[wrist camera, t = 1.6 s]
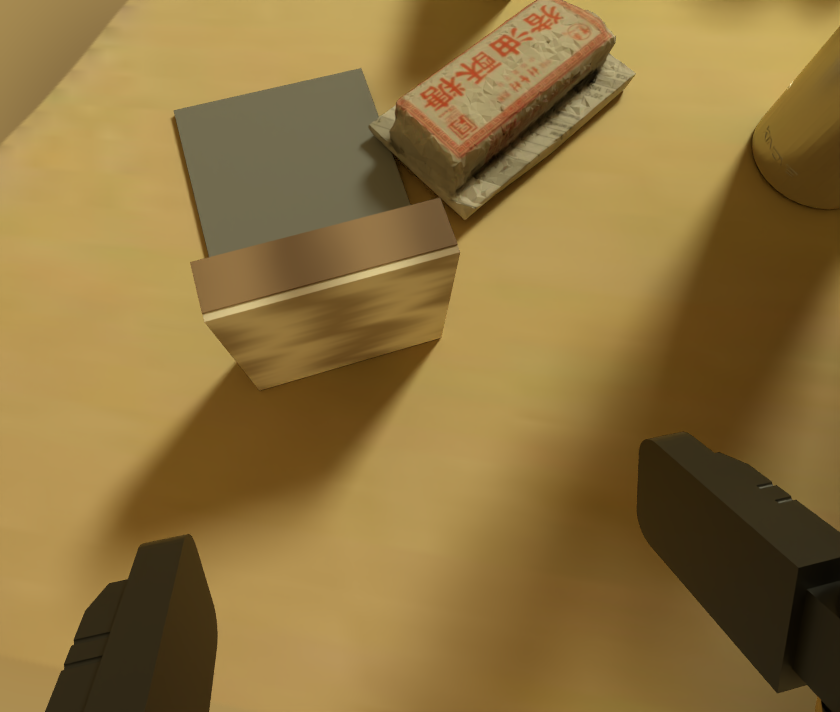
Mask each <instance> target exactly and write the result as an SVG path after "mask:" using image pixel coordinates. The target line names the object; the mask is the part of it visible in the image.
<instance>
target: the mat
mask: <svg viewBox="0 0 840 712" xmlns="http://www.w3.org/2000/svg"><path fill="white" fill-rule="evenodd" d="M174 114H175V118H176V122H177V126H178V131H179V135H180V139H181V143H182V147H183V151H184V155H185V159H186V164H187V168H188V172H189V176H190V180H191V184H192V188H193V192H194V197H195V201H196V205H197V209H198V213H199V217H200V221H201V225H202V230H203V234H204V238H205V242H206V246H207V250H208V254H209V257H212V256H216V255H220V254H224V253H227V252H231V251H235V250H239V249H243V248H247V247H251V246H254V245H258V244H262V243H266V242H270V241H274V240H278V239H282V238H285V237H289V236H293V235H297V234H301V233H305V232H309V231H312V230H316V229H320V228H324V227H328V226H332V225H336V224H339V223H343V222H347V221H351V220H355V219H359V218H363V217H366V216H370V215H374V214H378V213H382V212H386V211H390V210H394V209H397V208H401V207H405V206H409V205H410V202H409V199H408V196H407V194H406V191H405V188H404V185H403V182H402V180H401V177H400V174H399V171H398V169H397V166H396V163H395V160H394V158H393V155H392V152H391V151H390V150H389V149H388V148H387V147H386V146H385V145H384V144H383V143H382V142H380V141H379V140H378V139H377V138H376V137H375V136H374V135H373V134H372V133H371V131H370V129H369V128H368V126H369V125H370V124H371V123H372V122H373V121H375V120H376V119H377V118H379V116H378V113H377V110H376V108H375V105H374V102H373V99H372V97H371V94H370V91H369V88H368V86H367V83H366V80H365V77H364V74H363V72H362V69H361V68H360V69H356V70H351V71H347V72H342V73H338V74H334V75H329V76H325V77H320V78H316V79H311V80H307V81H302V82H298V83H293V84H289V85H285V86H280V87H276V88H271V89H267V90H262V91H258V92H253V93H249V94H245V95H240V96H236V97H231V98H227V99H222V100H218V101H213V102H209V103H205V104H200V105H196V106H191V107H187V108H182V109H178V110H174Z"/></svg>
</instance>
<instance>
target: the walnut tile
mask: <svg viewBox="0 0 840 712" xmlns="http://www.w3.org/2000/svg"><path fill="white" fill-rule="evenodd" d="M459 255H460V250H459V248H458V245H457V241H456V238H455V236H454V233H453V230H452V228H451V225H450V222H449V220H448V217H447V215H446V212H445V209H444V207H443V204H442V201H441V199H440V198H436V199H432V200H428V201H424V202H421V203H417V204H413V205H409V206H405V207H401V208H397V209H394V210H390V211H386V212H382V213H378V214H374V215H370V216H366V217H363V218H359V219H355V220H351V221H347V222H343V223H339V224H336V225H332V226H328V227H324V228H320V229H316V230H312V231H309V232H305V233H301V234H297V235H293V236H289V237H285V238H282V239H278V240H274V241H270V242H266V243H262V244H258V245H254V246H251V247H247V248H243V249H239V250H235V251H231V252H227V253H224V254H220V255H216V256H212V257H208V258H204V259H200V260H197V261H193V262H190V264H191V268H192V273H193V277H194V281H195V285H196V290H197V294H198V298H199V303H200V307H201V311H202V314H203V318H204V322H205V323H206V324H207V326H208V327H209V328H210V329H211V331H212V332H213V333H214V334H215V336H216V337H217V338H218V339H219V341H220V342H221V343H222V344H223V346H224V347H225V348H226V349H227V351H228V352H229V353H230V354H231V356H232V357H233V358H234V359H235V361H236V362H237V363H238V364H239V366H240V367H241V368H242V369H243V371H244V372H245V373H246V374H247V376H248V377H249V378H250V379H251V381H252V382H253V383H254V384H255V386H256V387H257V388H258V389H259V391H260V390H263V389H267V388H270V387H273V386H277V385H280V384H284V383H287V382H291V381H294V380H298V379H301V378H304V377H308V376H311V375H315V374H318V373H322V372H325V371H328V370H332V369H335V368H339V367H342V366H346V365H349V364H352V363H356V362H359V361H363V360H366V359H370V358H373V357H377V356H380V355H383V354H387V353H390V352H394V351H397V350H401V349H404V348H407V347H411V346H414V345H418V344H421V343H425V342H428V341H431V340H435V339H438V338H441V337H442V332H443V328H444V323H445V318H446V314H447V309H448V305H449V300H450V296H451V291H452V287H453V282H454V278H455V273H456V269H457V264H458V260H459Z"/></svg>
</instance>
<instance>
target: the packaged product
mask: <svg viewBox="0 0 840 712" xmlns="http://www.w3.org/2000/svg"><path fill="white" fill-rule="evenodd" d="M615 41H616V36H614V35H613V33H612V32H611V31H610V30H609V29H608V28H607V27H606V25H605V23H604V22H603V21H602V19H601V18H600V17H599V16H598V15H596V14H595V13H593V12H591V11H589V10H583V9H581V8H579V7H577V6H574V5H572V4H569V3H567V2H566V1H563V0H536V1H534V2H533V3H531V4H529V5H528V6H526V7H525V8H524V9H522V10H521V11H520V12H518V13H517V14H516V15H514V16H513V17H512V18H510V19H509V20H507V21H506V22H504V23H503V24H502V25H500V26H499V27H498V28H497V29H495V30H494V31H493V32H491V33H490V34H488V35H487V36H485V37H484V38H483V39H481V40H480V41H479V42H477V43H476V44H474V45H473V46H472V47H470V48H469V49H468V50H466V51H465V52H463V53H462V54H461V55H459V56H458V57H457V58H455V59H454V60H452V61H451V62H450V63H448V64H447V65H445V66H444V67H443V68H441V69H440V70H438V71H437V72H436V73H434V74H433V75H431V76H430V77H429V78H428V79H426V80H425V81H423V82H422V83H420V84H419V85H418V86H417V87H415V88H414V89H412V90H411V91H410V92H408V93H407V94H405V95H404V96H402V97H401V98H400V99H399V100H398V101H397V102H396V105H395V106H394V107H392V108H391V109H390V110H389V111H387V112H386V113H384V114H383V115H381V116H380V117H379V118H377V119H376V120H375V121H373V122H372V123H371V124H370V125H369V126H368V128H369V129H370V131H371V133H372V134H373V135H374V136H375V137H376V138H377V139H378V140H379V141H380V142H382V143H383V144H384V145H385V146H386V147H387V148H388V149H389V150H390V151H391V152H392V153H393V154H394V155H395V156H396V157H397V158H398V159H399V160H400V161H402V162H403V163H404V164H405V165H406V166H407V167H408V168H409V169H410V170H411V171H412V172H413V173H414V174H415V175H416V176H417V177H418V178H419V179H420V180H422V181H423V182H424V183H425V184H426V185H427V186H428V187H429V188H430V189H431V190H432V191H434V192H435V193H436V194H437V195H438V196H439V197H440V198H441V199H442V200H443V201H444V202H446V203H447V204H448V205H449V206H450V207H451V208H452V209H453V210H454V211H455V212H456V213H457V214H459V215H460V216H461V217H462V218H463V219H464V220H466V219H467V218H468V217H469V216H471V215H472V214H473V213H474V212H475V211H477V210H478V209H479V208H480V207H481V206H483V205H484V204H485V203H486V202H487V201H488V200H490V199H491V198H492V197H493V196H495V195H496V194H497V193H499V192H500V191H501V190H503V189H504V188H505V187H507V186H508V185H509V184H511V183H512V182H514V181H515V180H516V179H518V178H519V177H520V176H522V175H523V174H524V173H526V172H527V171H528V170H530V169H531V168H532V167H534V166H535V165H536V164H538V163H539V162H540V161H542V160H543V159H544V158H546V157H547V156H548V155H550V154H551V153H552V152H553V151H554V150H556V149H557V148H558V147H559V146H560V145H561V144H562V143H564V142H565V141H566V140H567V139H568V138H569V137H570V136H572V135H573V134H574V133H575V132H576V131H577V130H578V129H580V128H581V127H582V126H583V125H584V124H585V123H586V122H588V121H589V120H590V119H591V118H592V117H593V116H594V115H595V114H597V113H598V112H599V111H600V110H601V109H602V108H603V107H605V106H606V105H607V104H608V103H609V102H610V101H611V100H613V99H614V98H615V97H616V96H617V95H618V94H619V93H620V92H621V91H622V90H623V89H624V88H626V86H627V85H628V84H629V82H630V81H631V80H632V78H633V77H634V76H635V74H636V73H635V72H634V71H632V70H631V69H630V68H628V67H627V66H626V65H625V64H623V63H622V62H620V61H619V60H617V59H616V58H614V57H613V56H612V55H611V54H610V53H609V52H610V51H611V49H612V47H613V46H614V44H615Z"/></svg>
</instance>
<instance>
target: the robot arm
mask: <svg viewBox="0 0 840 712" xmlns="http://www.w3.org/2000/svg"><path fill="white" fill-rule="evenodd" d="M752 150H753V155H754V159H755V161H756V164H757V166H758V168H759V170H760V172H761V173H762V175H763V176H764V177H765V179H766V180H767V181H768V182H769V183H770V184H771V185H772V186H773V187H774V188H775V189H776V190H777V191H779V192H780V193H781V194H783V195H784V196H786V197H787V198H789V199H791V200H793V201H795V202H797V203H799V204H802V205H806V206H809V207H812V208H820V209H836V208H840V27H839V28H838V29H837V30H836V31H835V32H834V34H833V35H832V36H831V37H830V38H829V40H828V41H827V42H826V43H825V44H824V46H823V47H822V48H821V49H820V50H819V51H818V53H817V54H816V55H815V56H814V57H813V59H812V60H811V61H810V62H809V63H808V64H807V66H806V67H805V68H804V69H803V70H802V72H801V73H800V74H799V75H798V76H797V78H796V79H795V80H794V81H793V82H792V83H791V84H790V86H789V87H788V88H787V89H786V90H785V92H784V93H783V94H782V95H781V96H780V98H779V99H778V100H777V101H776V102H775V103H774V105H773V106H772V107H771V108H770V109H769V111H768V112H767V113H766V114H765V115H764V117H763V118H762V119H761V120H760V122H759V123H758V125H757V126H756V128H755V131H754V134H753V140H752ZM637 516H638V521H639V525H640V528H641V530H642V533H643V535H644V537H645V539H646V540H647V542H648V543H649V545H650V546H651V547H652V548H653V549H654V550H655V552H656V553H657V554H658V555H659V556H660V557H661V559H662V560H663V561H664V562H665V563H666V564H667V566H668V567H669V568H670V569H671V570H672V571H673V573H674V574H675V575H676V576H677V577H678V578H679V580H680V581H681V582H682V583H683V584H684V585H685V587H686V588H687V589H688V590H689V591H690V592H691V593H692V595H693V596H694V597H695V598H696V599H697V600H698V602H699V603H700V604H701V605H702V606H703V607H704V609H705V610H706V611H707V612H708V613H709V614H710V616H711V617H712V618H713V619H714V620H715V621H716V623H717V624H718V625H719V626H720V627H721V628H722V630H723V631H724V632H725V633H726V634H727V635H728V637H729V638H730V639H731V640H732V641H733V642H734V644H735V645H736V646H737V647H738V648H739V649H740V651H741V652H742V653H743V654H744V655H745V656H746V658H747V659H748V660H749V661H750V662H751V663H752V665H753V666H754V667H755V668H756V669H757V670H758V671H759V673H760V674H761V675H762V676H763V677H764V678H765V680H766V681H767V682H768V683H769V684H770V685H771V687H772V688H773V689H774V690H775V691H776V692H777V693H780V692H784V691H787V690H791V689H794V688H798V687H801V686H805V685H808V686H809V687H810V689H811V690H812V691H813V692H814V693H815V694H816V695H817V700H816V705H815V712H840V532H839V531H837V530H836V529H835V528H833V527H832V526H831V525H829V524H828V523H827V522H825V521H824V520H822V519H821V518H820V517H818V516H817V515H816V514H814V513H813V512H812V511H810V510H809V509H808V508H806V507H805V506H804V505H802V504H801V503H800V502H798V501H797V500H792V499H791V496H790V495H789V494H788V493H786V492H785V491H784V490H782V489H781V488H780V487H778V486H777V485H775V486H773V484H772V482H771V481H770V480H769V479H767V478H766V477H765V476H763V475H762V474H761V473H759V472H758V471H757V470H755V469H754V468H753V467H751V466H750V465H748V464H746V463H744V462H741V461H739V460H736V459H734V458H732V457H729V456H727V455H724V454H722V453H720V452H718V453H714V452H712V451H711V450H710V449H708V448H707V447H706V446H705V445H703V444H702V443H701V442H699V441H698V440H697V439H696V438H694V437H693V436H692V435H690V434H689V433H686V432H679V433H674V434H670V435H665V436H660V437H655V438H651V439H646V440H644V441H643V442H642V443H641V445H640V449H639V465H638V490H637ZM216 651H217V620H216V613H215V608H214V604H213V601H212V597H211V594H210V591H209V587H208V584H207V581H206V578H205V574H204V571H203V568H202V564H201V561H200V558H199V554H198V551H197V548H196V545H195V542H194V540H193V538H192V536H191V535H190V534H187V535H182V536H177V537H172V538H168V539H163V540H158V541H153V542H148V543H144V544H141V545H140V547H139V548H138V551H137V554H136V557H135V560H134V563H133V566H132V569H131V572H130V575H129V578H128V579H127V580H123V581H118V582H113V583H109V584H108V585H107V586H106V587H105V589H104V590H103V591H102V592H101V593H100V594H99V596H98V597H97V598H96V599H95V600H94V601H93V602H92V604H91V605H90V606H89V607H88V608H87V609H86V611H85V613H84V615H83V618H82V620H81V623H80V625H79V628H78V630H77V633H76V635H75V638H74V645H72V646H71V648H70V650H69V653H68V655H67V658H66V660H65V663H64V670H63V671H61V673H60V675H59V678H58V681H57V683H56V685H55V688H54V691H53V693H52V696H51V698H50V701H49V703H48V706H47V708H46V711H45V712H209V708H210V700H211V691H212V683H213V675H214V667H215V659H216Z"/></svg>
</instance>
